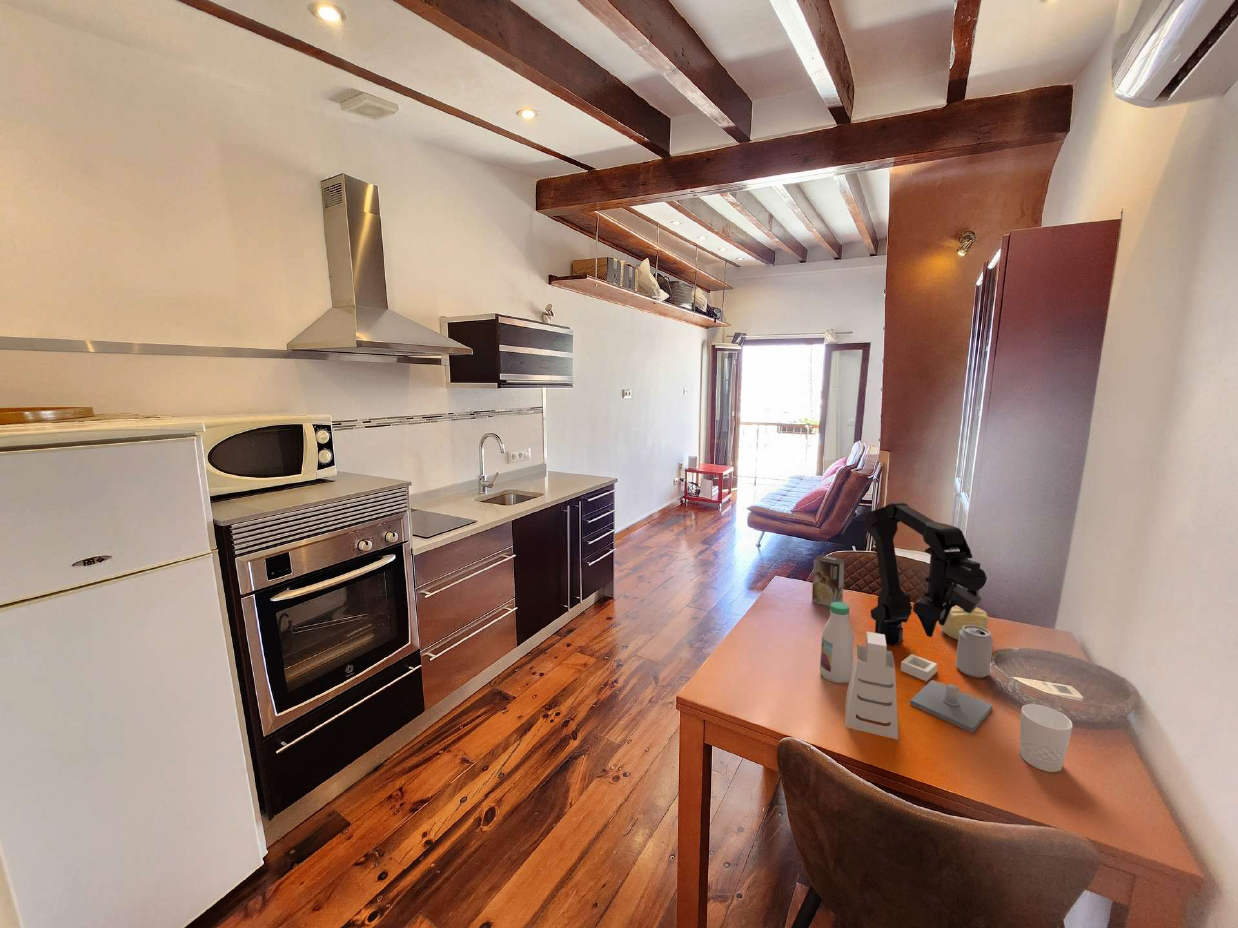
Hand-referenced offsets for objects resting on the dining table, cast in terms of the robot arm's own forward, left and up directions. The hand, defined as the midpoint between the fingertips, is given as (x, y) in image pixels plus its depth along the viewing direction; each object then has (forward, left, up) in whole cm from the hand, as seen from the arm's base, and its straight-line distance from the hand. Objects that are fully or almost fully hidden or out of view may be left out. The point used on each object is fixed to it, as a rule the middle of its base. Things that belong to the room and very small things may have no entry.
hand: (935, 630), depth 132 cm
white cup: (+27, -17, -12) cm, 34 cm away
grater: (-1, -31, -12) cm, 33 cm away
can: (+7, +9, -12) cm, 17 cm away
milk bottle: (-15, -21, -12) cm, 29 cm away
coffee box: (-40, +19, -12) cm, 46 cm away
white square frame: (-2, -2, -12) cm, 12 cm away
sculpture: (-2, +28, -12) cm, 31 cm away
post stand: (+9, -12, -12) cm, 19 cm away
